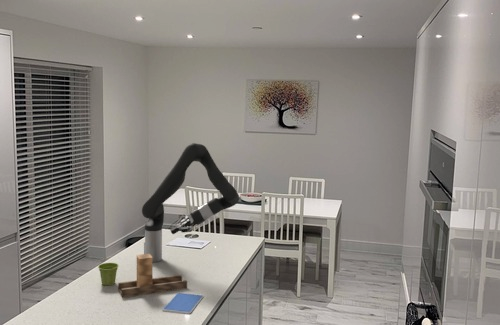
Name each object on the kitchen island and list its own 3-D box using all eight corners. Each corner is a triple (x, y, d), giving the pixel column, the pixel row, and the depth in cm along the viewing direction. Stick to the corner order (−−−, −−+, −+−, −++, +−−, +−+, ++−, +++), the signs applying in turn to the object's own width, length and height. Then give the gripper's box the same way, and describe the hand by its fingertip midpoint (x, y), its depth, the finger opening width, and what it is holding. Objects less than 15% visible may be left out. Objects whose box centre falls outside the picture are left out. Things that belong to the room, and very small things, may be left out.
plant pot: (122, 281, 230) (122, 264, 229) (110, 288, 221) (110, 270, 220) (106, 278, 233) (106, 261, 232) (94, 285, 224) (93, 267, 223)
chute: (181, 281, 232) (181, 274, 232) (187, 288, 223) (187, 281, 222) (118, 289, 219) (118, 282, 219) (122, 297, 210) (121, 290, 210)
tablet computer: (177, 294, 217) (177, 291, 216) (204, 297, 214) (204, 294, 214) (161, 312, 198) (161, 309, 198) (190, 315, 195) (190, 312, 195)
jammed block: (149, 284, 223) (149, 253, 222) (152, 289, 218) (152, 257, 216) (136, 286, 221) (136, 255, 219) (139, 291, 215) (139, 258, 214)
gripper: (195, 201, 235) (164, 219, 234) (202, 215, 224) (170, 235, 223) (202, 211, 239) (172, 229, 238) (209, 226, 228) (178, 245, 227)
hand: (171, 232), depth 230 cm, fingers closed
